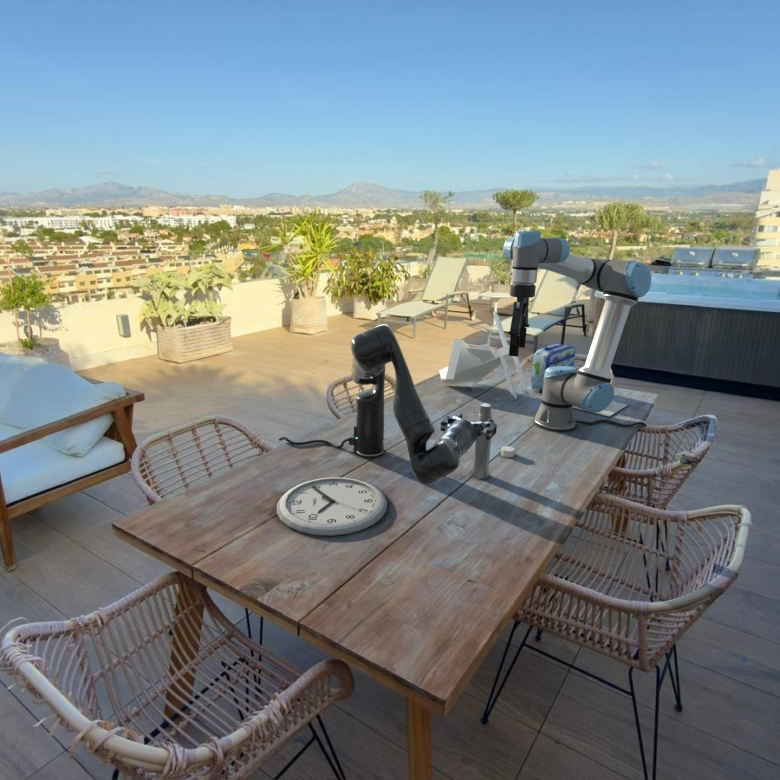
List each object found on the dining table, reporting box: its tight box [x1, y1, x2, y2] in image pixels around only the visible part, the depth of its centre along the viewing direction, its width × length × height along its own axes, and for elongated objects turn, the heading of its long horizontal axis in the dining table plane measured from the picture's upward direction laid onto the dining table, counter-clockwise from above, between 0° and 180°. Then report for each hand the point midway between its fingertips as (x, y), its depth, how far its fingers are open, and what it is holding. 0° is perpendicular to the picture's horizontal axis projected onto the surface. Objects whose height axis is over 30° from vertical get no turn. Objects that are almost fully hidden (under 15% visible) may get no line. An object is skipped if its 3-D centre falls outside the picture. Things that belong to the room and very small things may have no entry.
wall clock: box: [276, 476, 388, 537], centre depth 142 cm, size 30×2×30 cm
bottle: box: [472, 402, 493, 480], centre depth 158 cm, size 4×4×23 cm
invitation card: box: [573, 400, 629, 418], centre depth 226 cm, size 21×1×15 cm
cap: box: [500, 445, 515, 458], centre depth 176 cm, size 4×4×2 cm
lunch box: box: [530, 343, 576, 392], centre depth 248 cm, size 26×11×21 cm, turn 134°
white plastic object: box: [438, 310, 531, 400], centre depth 245 cm, size 37×45×31 cm
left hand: (475, 418), depth 146 cm, fingers open, 8 cm apart
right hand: (517, 351), depth 166 cm, fingers open, 13 cm apart
